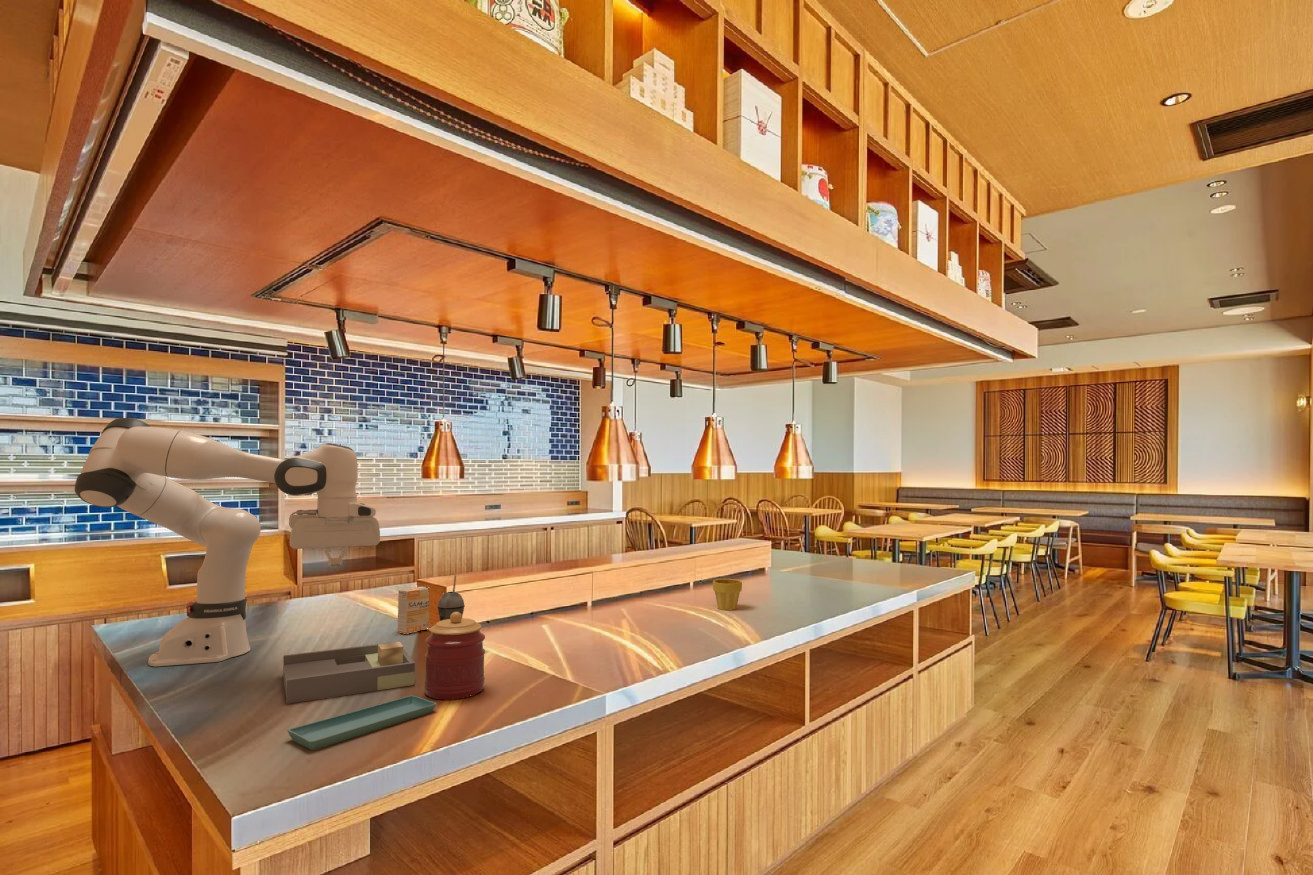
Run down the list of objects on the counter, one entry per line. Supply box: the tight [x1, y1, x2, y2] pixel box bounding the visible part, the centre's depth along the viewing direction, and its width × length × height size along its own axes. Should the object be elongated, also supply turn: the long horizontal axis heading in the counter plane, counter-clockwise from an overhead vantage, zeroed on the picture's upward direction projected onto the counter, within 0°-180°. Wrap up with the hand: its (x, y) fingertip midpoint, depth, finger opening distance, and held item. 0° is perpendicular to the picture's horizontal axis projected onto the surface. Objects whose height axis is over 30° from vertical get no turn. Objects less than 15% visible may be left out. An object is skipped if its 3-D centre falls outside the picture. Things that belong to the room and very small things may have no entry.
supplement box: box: [397, 586, 430, 634], centre depth 210 cm, size 8×5×13 cm, turn 143°
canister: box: [424, 612, 486, 701], centre depth 155 cm, size 13×13×18 cm
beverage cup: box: [437, 574, 465, 621], centre depth 191 cm, size 7×7×20 cm
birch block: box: [377, 641, 404, 666], centre depth 166 cm, size 5×5×4 cm
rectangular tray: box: [286, 695, 437, 751], centre depth 134 cm, size 26×9×2 cm, turn 143°
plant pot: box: [712, 578, 743, 611], centre depth 246 cm, size 10×10×10 cm
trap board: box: [282, 641, 416, 705], centre depth 162 cm, size 26×22×5 cm
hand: (335, 565), depth 169 cm, fingers closed
